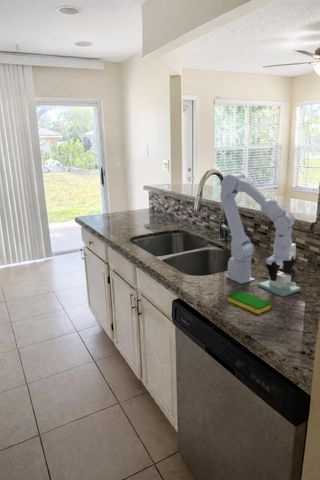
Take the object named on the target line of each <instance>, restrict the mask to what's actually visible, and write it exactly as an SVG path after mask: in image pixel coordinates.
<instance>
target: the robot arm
mask: <svg viewBox="0 0 320 480" xmlns="http://www.w3.org/2000/svg"><path fill="white" fill-rule="evenodd" d="M219 184H220V186H221V187H220V189H221V190H220V195H219V196H220V197H219V199H220V202H221V205H222V208H223V211H224V215H225V218H226V221H227V226H228V228H229V231H230V232H229V233H230V234H231V242H230V247H231V251H230V253H231V257H229V259H228V262H227V275H226V276H225V277H226V278H228V279H229V280H232V281H234V282H237V283H238V284H246V283H249V282H252V281H255V280H256V279H255V278H253V277H252V276H251V275H252V260H253V259H252V255H253V254H254V253H255V246H254V244H253V242H251V239H250V237H249V236H247V235H246V232H245V230H244V229H245V228H244V226H243V222H242V218H241V215H240V212H239V209H238V206H237V202H236V200H235V199H236V197H237V195H238V193H239V192H240V193H246V195H248V196H249V197H251V199H253V201H255V202H256V203H257V204H258V205H259V206H260V211H261V212H262V213H263V214H264V215H265V216H266V217H268V218H269V220H271V221H272V222H273V226H274V228H275V237H274V243H275V246H274V245H273V252H274V255H273V254H272V255H270V257H268V258H266V260H265V267H266V268H267V271H268V274H269V277H270V280H272V281H276V278H277V272H278V271H280V269H279V267H280V266H279V265H277V264H276V262H280V261H283V269H282V270H283V271H282V272H284V273H286V274H289V275H291V272H292V270H293V269H292V268H293V266H294V267H295V265H296V264H297V259H296V257H297V253H296V252H295V253H292V252H291V253H290V246H291V239H292V231H293V226H294V225H295V223H296V222H295V221H296V220H295V217H294V215H293V214H292V213H291V212H288V211H287V210H286V209H283V208H282V207H281V206H280V205H279V204H278V201H277V200H275V199H273V198H271V199H270V198H269V199H268V198H267V197H266V196H265V195H264V194H263V193H262V192H261V191H260V190H259V189H258V188H257V187H256V186H255V185H254V184H253V183H252V182H251V180H250V178H248V177H246V175H245V173H242V172H241V173H240V172H237V173H233V174H227V175H225V176H224V177H223V179H222V181H220V183H219ZM294 258H295V259H294Z"/></svg>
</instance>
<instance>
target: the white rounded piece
mask: <svg viewBox="0 0 320 480" xmlns="http://www.w3.org/2000/svg"><path fill="white" fill-rule="evenodd" d="M268 280H269V284H271V285H273V286H276V287H278V288H280V289H284V290H288V289H290V286H291V287H293V286H297V282H294V281H291V280H292V275H291V274H290V275H289V274H286V273H284V272H283V271H280V270H278V272H277V278H276V281H272V280H270V276H269V279H268Z"/></svg>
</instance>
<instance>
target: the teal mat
mask: <svg viewBox="0 0 320 480" xmlns="http://www.w3.org/2000/svg"><path fill="white" fill-rule="evenodd" d="M258 287H260V288H261V289H264V290H265V291H269V292H271V293H274V294H277V295H278V296H281V297H285V296H288V295H291V294H294V293H295V294H296V293H298V292H300V291H301V287H300V286H298V285H296V286H293V287H291V286H290V289H288V290H284V289H280V288H278V287H276V286H273V285H271V284H269V279H268V280H265V281H261V282H259V283H258Z"/></svg>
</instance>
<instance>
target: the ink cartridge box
mask: <svg viewBox="0 0 320 480" xmlns="http://www.w3.org/2000/svg"><path fill="white" fill-rule="evenodd" d="M274 246H275V242H274V243H273V247H274ZM296 249H297V244H296V243H293V239H292V238H291V246H290V253H291V252H292V253H296V251H297V250H296ZM273 255H274V251H273V253H272V256H273ZM294 259H295V260H296V258H294ZM276 264H277V265H279V266H280V267H279V270H283V261H280V262H276ZM293 269H295V265H294V266H293V268H292V270H293Z"/></svg>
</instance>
